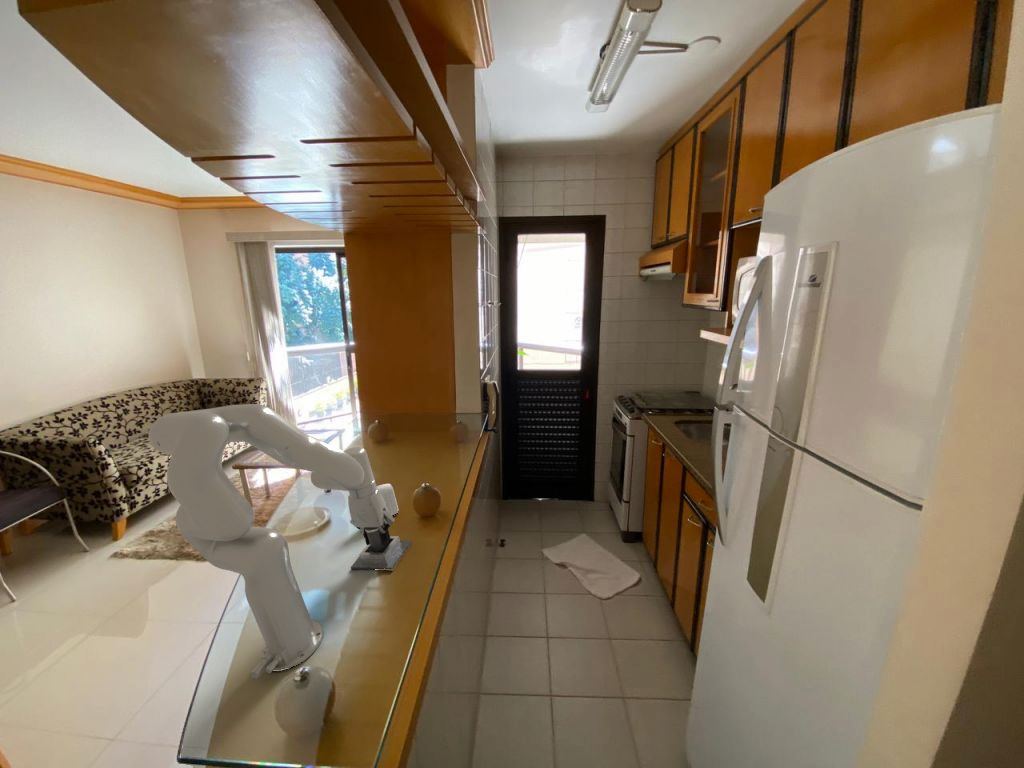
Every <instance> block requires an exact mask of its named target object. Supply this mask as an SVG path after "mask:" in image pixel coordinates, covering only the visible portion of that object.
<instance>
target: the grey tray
mask: <svg viewBox="0 0 1024 768" xmlns="http://www.w3.org/2000/svg"><path fill="white" fill-rule="evenodd" d="M411 543H412V544H413V540H400V536H398V535H390V540H389V541H388V544H389V546H388V547H387V549H386V550H385V551H384V552H383V553H372V549H371V546H370V544H369V545H366V546H365V547H364V548H363V549H362V551H361V552H360V553H359V556H358V558H357V559H356V560H355V561H354V563H352V565H351V566H350V570H351V571H370V570H375V569H384V568H385V569H393V568H394V566H395V565H396V563H397V562H398V561H399V559H400V558H401V557H402V555H403V554H404V553H405V551H406V550H407V549H408V547H409V546H410V545H411ZM411 546H412V545H411ZM411 546H410V547H411ZM410 547H409V548H410ZM408 550H409V549H408ZM408 550H407V551H408ZM405 554H406V553H405Z"/></svg>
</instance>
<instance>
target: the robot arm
mask: <svg viewBox="0 0 1024 768" xmlns="http://www.w3.org/2000/svg"><path fill="white" fill-rule="evenodd" d="M148 442H149V443H150V445H151V447H152V448H153V449H155V450H156V451H158V452H159V453H163V454H166V455H170V456H171V457H170V460H169V461H168V462H169V463H168V467H167V475H166V478H167V479H166V484H167V487H168V490H169V492H170V493H171V494H172V496H173V497H174V498H175V500H176V501H177V502H178V504H179V507H178V509H177V511H176V514H175V525H176V528H177V530H178V532H179V533H180V535H181V536H182V537H183V539H185V540H186V542H188V543H189V544H190V546H192V547H193V549H195V550H196V552H198V553H199V554H200V555H201V556H202V558H204V559H205V560H206V561H207V562H208V563H209V564H210V565H212V566H214V567H216V568H217V569H220V570H225V571H230V572H232V573H236V574H238V575H241V576H242V578H243V579H244V593H245V598H246V600H247V604H248V606H249V608H250V610H251V612H252V614H253V617H254V620H255V622H256V624H257V627H258V629H259V632H260V633H261V636H262V639H263V641H264V644H265V647H264V648H263V649H262V653H263V656H262V657H261V661H260V662H259V663H258V664H257V665H256V666H255V667H254V668H253V669H252V671H250V676H251V677H252V678H253V679H256V680H257V679H258V678H260V676H261V675H262V674H263V673H264V672H266V673H267V674H271V673H272V671H273V670H281V669H285V668H290V667H293V666H295V667H297V666H299V665H301V662H302V663H303V662H304V661H306V660H307V659H308V658H309V657H310V656H311V655H312V654H313V653H314V652H315V651H316V650H317V649H318V648H319V646H320V644H321V642H322V640H323V637H324V629H323V626H322V625H321V623H319V622H318V621H314V620H312V618H311V616H310V613H309V610H308V608H307V605H306V603H305V600H304V597H303V595H302V592H301V590H300V587H299V584H298V581H297V579H296V576H295V573H294V571H293V567H292V564H291V560H290V559H291V558H290V549H289V545H288V541H287V539H286V537H285V536H284V535H283V534H282V533H280V532H279V531H277V530H274V529H272V528H267V527H262V526H254V524H255V520H256V517H255V511H254V508H253V507H252V505H251V503H250V502H249V501H248V499H247V498H246V497H244V495H243V494H242V493H241V492H240V490H239V489H238V487H236V485H235V484H234V483H233V482H232V480H231V479H230V477H228V475H227V474H226V472H225V470H224V468H223V455H224V452H225V449H226V447H227V445H228V443H234V442H237V443H239V442H241V443H247V444H249V445H250V446H252V447H254V448H256V450H259V451H260V452H261V453H264V454H266V455H267V456H269V457H270V458H272V459H273V460H275V461H276V462H278V463H280V464H281V465H284V466H287V467H290V468H293V469H297V470H302V471H307V472H310V482H311V483H312V485H313V486H314V487H315V488H318V489H320V490H328V491H331V490H332V491H345V492H348V494H349V495H348V497H347V503H348V505H347V506H348V510H349V515H350V519H351V520H350V521H349V523H350V524H351V525H353V526H354V527H355V528H356V529H358V530H359V532H360V534H362V535H363V538H364V541H365V544H366V546H367V545H369V544H370V543H369V540H368V536H367V533H366V530H365V527H378V528H379V530H380V531H381V534H380V536H381V540H382V543H383V545H386V544H387V543H388V541H389V540H390V536H391V535H390V531H389V528H390V527H391V526H392V525H393V524H394V522H395V521H396V519H395V518H394V516H391V515H390V514H389V513H388V509H387V506H386V503H385V501H384V499H383V496H382V494H381V492H380V491H379V489H377V487H376V486H377V484H376V483H377V482H376V480H375V477H374V474H373V470H372V466H371V463H370V459H369V457H368V456H369V455H368V453H367V452H368V451H367V450H366V449H365V448H364V447H361V446H353V447H350V448H347V449H346V450H341V448H340V449H339V448H338V447H335V446H333V445H331V444H329V443H327V442H324V441H322V440H320V439H318V438H316V437H314V436H310V435H308V434H307V433H305V432H304V431H302V430H301V429H300V428H298V427H297V426H295V425H294V424H293V423H291V422H290V421H289V420H287V419H286V418H284V417H283V416H282V415H281V414H279V413H278V412H276V411H275V410H274V409H272V408H271V407H269V406H266V405H265V404H260V403H248V404H247V403H246V404H245V403H244V404H230V405H224V406H218V407H211V408H204V409H196V410H189V411H188V410H187V411H179V412H178V411H177V412H172V413H168V414H166V415H162V416H161V417H159V418H158V419H157V420H155V421H154V422H153V423H152V424H151V426H150V428H149V430H148ZM382 525H383V526H384V528H383V526H382ZM298 664H299V665H298ZM296 665H297V666H296ZM293 668H294V667H293Z"/></svg>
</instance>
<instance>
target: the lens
mask: <svg viewBox="0 0 1024 768" xmlns="http://www.w3.org/2000/svg"><path fill="white" fill-rule="evenodd" d="M382 526H383V528H384V525H382ZM365 530H366V533H367V536H368V540H369V543H370V546H371V549H372V553H383V552H384V551H385V550H386V549H387V547H388V546H389V544H388V543H387V544H386V545H383V543H382V540H381V536H380V534H381V531H380V530H379V528H378V527H365Z"/></svg>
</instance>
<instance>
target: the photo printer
mask: <svg viewBox="0 0 1024 768" xmlns="http://www.w3.org/2000/svg"><path fill="white" fill-rule="evenodd" d="M376 487H377V489H379V491H380V492H381V494H382V496H383V499H384V501H385V503H386V506H387V509H388V513H389V514H390V515H391V516H392V515H394V514H396V513H398V511H399V506H398V502H397V498H396V495H395V491H394V487H393V486H392V484H390V483H385V484H384V483H383V484H380V485H376ZM399 512H400V511H399ZM398 514H399V513H398ZM396 515H397V514H396ZM394 516H395V515H394ZM392 517H393V516H392Z"/></svg>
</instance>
